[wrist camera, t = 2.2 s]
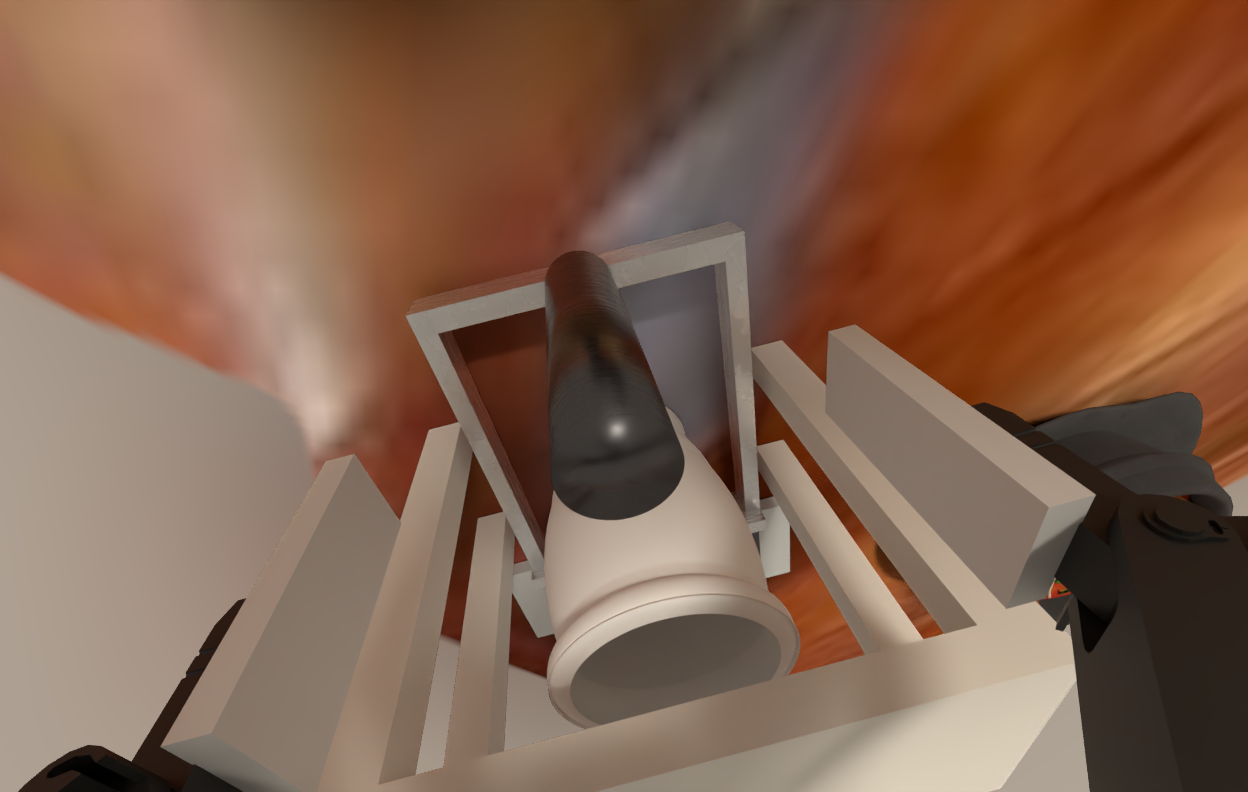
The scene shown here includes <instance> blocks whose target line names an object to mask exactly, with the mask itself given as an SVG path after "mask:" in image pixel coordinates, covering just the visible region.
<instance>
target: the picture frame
mask: <svg viewBox="0 0 1248 792" xmlns="http://www.w3.org/2000/svg"><path fill="white" fill-rule="evenodd" d="M713 264H714V267H715V277H716V288H717V299H718V309H719V320H720V330H721V341H722V351H723V362H724V373H725V383H726V394H727V404H728V415H729V426H730V436H731V447H732V457H733V468H734V479H735V489H736V492H732V493H731V494H732V496H733V498H734V499H735V501H736V503H737V504H738V506H739V508H740V510H741V512H742V513H743V515H744V517H745V519H746V522H747V524H748V526H749V528H750V531H751V533H754V532H758V531H762V530H766V519H765V517H764V515H763V513H762V511H761V509H760V499H759V481H758V463H757V444H756V426H755V408H754V390H753V372H752V354H751V336H750V318H749V299H748V281H747V263H746V245H745V231H744V230H743V229H741V228H740V227H738V226H737V225H735V224H734V223H732V222H731V221H728V222H724V223H720V224H716V225H712V226H708V227H704V228H700V229H696V230H692V231H688V232H684V233H680V234H676V235H672V236H668V237H664V238H660V239H656V240H652V241H648V242H644V243H640V244H636V245H632V246H628V247H624V248H620V249H616V250H612V251H608V252H604V253H600V254H596V255H595V254H593V253H590V252H586V251H572V252H568V253H566V254H563V255H561V256H560V257H558V258H557V259H556V260H555V261H554V262H553V263H552V264H551V266H548V267H544V268H540V269H536V270H532V271H528V272H524V273H520V274H516V275H512V276H508V277H504V278H500V279H496V280H492V281H488V282H484V283H480V284H476V285H472V286H468V287H464V288H460V289H456V290H452V291H448V292H444V293H440V294H436V295H432V296H428V297H423V298H419V299H415V300H414V302H413V304H412V305H411V307H410V309H409V311H408V312H407V314H406V318H407V320H408V322H409V324H410V326H411V328H412V330H413V332H414V334H415V336H416V338H417V340H418V342H419V344H420V346H421V348H422V350H423V352H424V354H425V356H426V358H427V360H428V362H429V364H430V366H431V368H432V370H433V372H434V374H435V376H436V378H437V380H438V382H439V384H440V386H441V388H442V390H443V392H444V394H445V396H446V398H447V400H448V402H449V404H450V406H451V408H452V410H453V412H454V414H455V416H456V418H457V420H458V422H459V424H460V426H461V428H462V430H463V432H464V434H465V436H466V438H467V440H468V442H469V444H470V446H471V448H472V450H473V452H474V454H475V456H476V458H477V460H478V462H479V464H480V466H481V468H482V470H483V472H484V474H485V476H486V478H487V480H488V482H489V484H490V486H491V488H492V490H493V492H494V494H495V496H496V498H497V500H498V502H499V504H500V506H501V508H502V510H503V512H504V514H505V516H506V518H507V519H508V521H509V523H510V525H511V527H512V529H513V531H514V533H515V535H516V537H517V539H518V541H519V543H520V545H521V547H522V549H523V551H524V553H525V555H526V557H527V559H528V561H529V563H530V565H531V567H532V582H533V584H534V586H535V588H536V589H540V588H543V587H546V586H545V572H544V551H545V538H544V536H543V534H542V531H541V529H540V527H539V525H538V523H537V520H536V518H535V516H534V514H533V512H532V509H531V507H530V505H529V503H528V500H527V498H526V496H525V494H524V492H523V489H522V487H521V485H520V483H519V480H518V478H517V476H516V474H515V472H514V469H513V467H512V465H511V463H510V460H509V458H508V456H507V454H506V452H505V449H504V447H503V445H502V443H501V441H500V438H499V436H498V434H497V432H496V429H495V427H494V425H493V423H492V421H491V418H490V416H489V414H488V412H487V409H486V407H485V405H484V403H483V401H482V398H481V396H480V394H479V392H478V389H477V387H476V385H475V383H474V381H473V378H472V376H471V374H470V372H469V370H468V367H467V365H466V363H465V361H464V358H463V356H462V354H461V352H460V350H459V347H458V345H457V343H456V341H455V338H454V336H453V334H452V332H451V330H454V329H458V328H462V327H466V326H470V325H474V324H478V323H482V322H486V321H490V320H494V319H498V318H502V317H506V316H510V315H514V314H518V313H522V312H526V311H530V310H534V309H538V308H542V307H545V314H546V343H547V372H548V400H549V429H550V457H551V479H552V485H553V488H554V491H555V493H556V495H557V496H558V498H559V499H560V501H561V502H562V503H563V504H564V505H565V506H567V507H568V508H569V509H571V510H572V511H574V512H576V513H577V514H580V515H582V516H585V517H588V518H592V519H598V520H622V519H627V518H632V517H635V516H638V515H641V514H644V513H646V512H648V511H650V510H652V509H654V508H655V507H657V506H658V505H660V504H661V503H663V502H664V501H665V500H666V499H667V498H668V497H669V496H670V495H671V494H672V493H673V492H674V490H675V489H676V488H677V486H678V484H679V483H680V481H681V478H682V476H683V472H684V466H685V460H684V453H683V450H682V447H681V445H680V442H679V440H678V437H677V435H676V432H675V430H674V427H673V425H672V422H671V420H670V417H669V415H668V412H667V410H666V407H665V405H664V402H663V400H662V397H661V395H660V392H659V390H658V387H657V385H656V382H655V380H654V377H653V375H652V372H651V370H650V367H649V365H648V362H647V360H646V357H645V355H644V352H643V350H642V348H641V345H640V343H639V340H638V338H637V335H636V333H635V330H634V328H633V325H632V323H631V320H630V318H629V315H628V313H627V310H626V308H625V305H624V303H623V300H622V298H621V295H620V293H619V290H618V288H622V287H626V286H630V285H634V284H638V283H642V282H646V281H650V280H654V279H658V278H662V277H666V276H670V275H674V274H678V273H682V272H686V271H690V270H694V269H698V268H702V267H706V266H709V265H713Z"/></svg>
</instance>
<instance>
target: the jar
mask: <svg viewBox="0 0 1248 792" xmlns="http://www.w3.org/2000/svg"><path fill="white" fill-rule="evenodd" d="M665 407H666V406H665ZM666 410H667V412H668V415H669V417H670V420H671V422H672V425H673V427H674V430H675V432H676V435H677V437H678V440H679V442H680V445H681V447H682V450H683V453H684V460H685V466H684V472H683V476H682V478H681V481H680V483H679V484H678V486H677V488H676V489H675V490H674V492H673V493H672V494H671V495H670V496H669V497H668V498H667V499H666V500H665V501H664V502H663V503H661V504H660V505H658V506H657V507H655V508H654V509H652V510H650V511H648V512H646V513H644V514H641V515H638V516H635V517H632V518H627V519H622V520H598V519H592V518H588V517H585V516H582V515H580V514H577V513H576V512H574V511H572V510H571V509H569V508H568V507H567V506H565V505H564V504H563V503H562V502H561V501H560V499H559V498H558V496H557V495H556V493H555V491H553V498H552V507H551V511H550V515H549V519H548V524H547V530H546V538H545V551H544V572H545V586H546V595H547V602H548V608H549V614H550V619H551V623H552V628H553V631H554V635H555V638H556V641H557V642H556V643H555V645H554V647H553V650H552V652H551V654H550V657H549V661H548V667H547V682H548V687H549V688H548V690H549V697H550V700H551V702H552V704H553V706H554V708H555V709H556V710H557V712H558V713H559V714H561V715H562V716H563V717H564V718H565V719H566V720H568V721H569V722H571V723H573V724H575V725H577V726H579V727H581V728H584V729H590V728H593V727H597V726H601V725H605V724H608V723H612V722H616V721H620V720H623V719H627V718H631V717H635V716H638V715H642V714H646V713H650V712H653V711H657V710H661V709H665V708H668V707H672V706H676V705H680V704H683V703H687V702H691V701H695V700H698V699H702V698H706V697H710V696H713V695H717V694H721V693H725V692H728V691H732V690H736V689H740V688H743V687H747V686H751V685H755V684H758V683H762V682H766V681H770V680H773V679H777V678H781V677H785V676H787V675H788V674H789V673H790V671H791V670H792V668H793V667H794V665H795V663H796V661H797V658H798V655H799V651H800V636H799V632H798V630H797V628H796V626H795V624H794V622H793V619H792V617H791V615H790V613H789V612H788V610H787V608H786V607H785V606H784V604H783V603H782V602H781V601H780V600H779V599H778V598H777V597H775V596H774V595H773V594H772V593H770V592H769V591H768V587H767V582H766V577H765V573H764V569H763V565H762V562H761V559H760V555H759V552H758V549H757V546H756V544H755V541H754V538H753V536H752V533H751V531H750V528H749V526H748V524H747V522H746V519H745V517H744V515H743V513H742V512H741V510H740V508H739V506H738V504H737V503H736V501H735V499H734V498H733V496H732V494H731V493H730V491H729V490H728V488H727V487H726V486H725V484H724V483H723V481H722V480H721V479H720V477H719V476H718V475H717V473H716V472H715V471H714V470H713V469H712V467H711V466H710V465H709V463H708V462H707V460H706V459H705V457H704V456H703V455H702V453H701V452H700V451H699V450H698V449H697V447H696V446H695V445H694V444H693V443H692V442H691V441H690V440H689V439H687V438H686V435H685V431H684V428H683V426H682V424H681V422H680V420H679V419H678V417H677V416H676V415H675V414H674V413H673V412H672V411H671V410H670V409H669V408H667V407H666Z"/></svg>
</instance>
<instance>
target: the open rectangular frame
mask: <svg viewBox="0 0 1248 792" xmlns="http://www.w3.org/2000/svg"><path fill="white" fill-rule="evenodd" d="M751 354H752V372H753V378H754V379H755V381H756V382H757V383H758V385H759V386H760V387H761V389H762V390H763V391H764V393H765V394H766V395H767V397H768V398H769V399H770V401H771V402H772V403H773V405H774V406H775V407H776V409H777V410H778V411H779V413H780V414H781V415H782V417H783V418H784V419H785V421H786V422H787V423H788V425H789V426H790V427H791V429H792V430H793V431H794V433H795V434H796V435H797V437H798V438H799V439H800V441H801V442H802V444H803V445H804V446H805V448H806V449H807V450H808V452H809V453H810V454H811V456H812V457H813V458H814V460H815V461H816V462H817V464H818V465H819V466H820V468H821V469H822V470H823V472H824V473H825V474H826V476H827V477H828V478H829V480H830V481H831V482H832V484H833V485H834V486H835V488H836V489H837V490H838V492H839V493H840V494H841V496H842V497H843V498H844V500H845V501H846V502H847V504H848V505H849V506H850V508H851V509H852V510H853V512H854V513H855V514H856V516H857V517H858V518H859V520H860V521H861V522H862V524H863V525H864V527H865V528H866V529H867V531H868V532H869V533H870V535H871V536H872V537H873V539H874V540H875V541H876V543H877V544H878V545H879V547H880V548H881V549H882V551H883V552H884V553H885V555H886V556H887V557H888V559H889V560H890V561H891V563H892V564H893V565H894V567H895V568H896V569H897V571H898V572H899V573H900V575H901V576H902V577H903V579H904V580H905V581H906V583H907V584H908V585H909V587H910V588H911V589H912V591H913V592H914V593H915V595H916V596H917V597H918V599H919V600H920V601H921V603H922V604H923V605H924V607H925V608H926V609H927V611H928V612H929V614H930V615H931V616H932V618H933V619H934V620H935V622H936V623H937V624H938V626H939V627H940V628H941V630H942V631H943V632H944V634H942V635H939V636H935V637H931V638H927V639H924V640H923V638H922V637H921V636H920V634H919V633H918V631H917V630H916V628H915V627H914V626H913V624H912V623H911V621H910V620H909V618H908V617H907V616H906V614H905V613H904V611H903V610H902V608H901V607H900V606H899V604H898V603H897V601H896V600H895V598H894V597H893V596H892V594H891V593H890V591H889V590H888V588H887V587H886V586H885V584H884V583H883V581H882V580H881V578H880V577H879V576H878V574H877V573H876V571H875V570H874V568H873V567H872V566H871V564H870V563H869V561H868V560H867V559H866V557H865V556H864V554H863V553H862V551H861V550H860V549H859V547H858V546H857V544H856V543H855V541H854V540H853V539H852V537H851V536H850V534H849V533H848V531H847V530H846V529H845V527H844V526H843V524H842V523H841V521H840V520H839V519H838V517H837V516H836V514H835V513H834V511H833V510H832V509H831V507H830V506H829V504H828V503H827V501H826V500H825V499H824V497H823V496H822V494H821V493H820V491H819V490H818V489H817V487H816V486H815V484H814V483H813V481H812V480H811V479H810V477H809V476H808V474H807V473H806V471H805V470H804V469H803V467H802V466H801V464H800V463H799V461H798V460H797V459H796V457H795V456H794V454H793V453H792V451H791V450H790V449H789V447H788V446H787V444H786V443H785V441H784V440H779V441H775V442H772V443H768V444H764V445H760V446H757V463H758V470H759V472H760V474H761V475H762V477H763V479H764V480H765V482H766V484H767V486H768V487H769V489H770V491H771V493H772V494H773V496H774V497H770V498H766V499H762V500H760V509H761V511H762V513H763V515H764V517H765V519H766V530H762V531H758V532H754V533H752V536H753V538H754V541H755V544H756V546H757V549H758V552H759V555H760V559H761V562H762V565H763V569H764V573H765V577H766V578H768V577H771V576H775V575H779V574H783V573H787V572H790V525H791V527H792V529H793V530H794V532H795V534H796V536H797V537H798V539H799V541H800V543H801V544H802V546H803V548H804V549H805V551H806V553H807V555H808V556H809V558H810V560H811V562H812V563H813V565H814V567H815V568H816V570H817V572H818V574H819V575H820V577H821V579H822V581H823V582H824V584H825V586H826V587H827V589H828V591H829V593H830V594H831V596H832V598H833V600H834V601H835V603H836V605H837V606H838V608H839V610H840V612H841V613H842V615H843V617H844V618H845V620H846V622H847V624H848V625H849V627H850V629H851V631H852V632H853V634H854V636H855V637H856V639H857V641H858V643H859V644H860V646H861V648H862V650H863V651H864V653H865V655H864V656H860V657H856V658H852V659H849V660H845V661H841V662H837V663H834V664H830V665H826V666H822V667H819V668H815V669H811V670H807V671H803V672H800V673H796V674H792V675H788V676H785V677H781V678H777V679H773V680H770V681H766V682H762V683H758V684H755V685H751V686H747V687H743V688H740V689H736V690H732V691H728V692H725V693H721V694H717V695H713V696H710V697H706V698H702V699H698V700H695V701H691V702H687V703H683V704H680V705H676V706H672V707H668V708H665V709H661V710H657V711H653V712H650V713H646V714H642V715H638V716H635V717H631V718H627V719H623V720H620V721H616V722H612V723H608V724H605V725H601V726H597V727H593V728H590V729H586V730H582V731H579V732H575V733H571V734H567V735H563V736H560V737H556V738H552V739H549V740H545V741H541V742H537V743H533V744H530V745H526V746H522V747H518V748H514V749H511V750H507V751H504V741H505V722H506V702H507V701H506V700H507V682H508V663H509V643H510V623H511V604H512V593H513V595H514V597H515V598H516V600H517V602H518V604H519V606H520V607H521V609H522V611H523V613H524V614H525V616H526V618H527V620H528V621H529V623H530V625H531V627H532V628H533V630H534V632H535V634H536V636H537V637H538V638H539V637H543V636H547V635H551V634H554V631H553V628H552V623H551V619H550V614H549V608H548V602H547V595H546V587H543V588H540V589H536V588H535V586H534V584H533V582H532V567H531V565H530V563H529V561H528V560H527V561H523V562H520V563H516V564H514V545H515V533H514V531H513V529H512V527H511V525H510V523H509V521H508V519H507V518H506V516H505V514H504V512H500V513H496V514H492V515H488V516H485V517H481V518H478V521H477V528H476V536H475V543H474V550H473V557H472V564H471V572H470V579H469V586H468V593H467V600H466V608H465V615H464V622H463V629H462V636H461V643H460V651H459V658H458V665H457V672H456V680H455V687H454V694H453V701H452V708H451V715H450V723H449V730H448V738H447V744H446V751H445V758H444V766H443V768H439V769H436V770H432V771H428V772H424V773H421V774H417V775H415V774H416V768H417V762H418V756H419V751H420V746H421V740H422V734H423V729H424V723H425V717H426V712H427V706H428V701H429V695H430V689H431V684H432V678H433V673H434V667H435V661H436V656H437V650H438V645H439V639H440V633H441V628H442V622H443V617H444V611H445V605H446V600H447V594H448V589H449V583H450V577H451V572H452V566H453V561H454V555H455V549H456V544H457V538H458V533H459V527H460V521H461V516H462V510H463V504H464V499H465V493H466V488H467V482H468V476H469V471H470V465H471V460H472V454H473V450H472V448H471V446H470V444H469V442H468V440H467V438H466V436H465V434H464V432H463V430H462V428H461V426H460V424H459V422H457V423H454V424H450V425H446V426H442V427H438V428H434V429H430V430H429V432H428V435H427V438H426V441H425V444H424V447H423V450H422V453H421V457H420V460H419V463H418V466H417V469H416V472H415V475H414V479H413V482H412V485H411V488H410V491H409V494H408V497H407V501H406V504H405V507H404V510H403V513H402V516H401V519H400V522H401V526H400V529H399V532H398V536H397V539H396V542H395V545H394V548H393V551H392V555H391V558H390V561H389V564H388V567H387V570H386V573H385V577H384V580H383V583H382V586H381V589H380V592H379V595H378V599H377V602H376V605H375V608H374V611H373V614H372V617H371V621H370V624H369V627H368V630H367V633H366V636H365V640H364V643H363V646H362V649H361V652H360V655H359V658H358V662H357V665H356V668H355V671H354V674H353V677H352V680H351V684H350V687H349V690H348V693H347V696H346V699H345V703H344V706H343V709H342V712H341V715H340V718H339V721H338V725H337V728H336V731H335V734H334V737H333V740H332V743H331V747H330V750H329V753H328V756H327V759H326V762H325V765H324V769H323V772H322V775H321V778H320V781H319V784H318V788H317V791H316V792H990V791H993V790H997V789H1001V787H1002V786H1003V784H1004V783H1005V781H1006V780H1007V779H1008V777H1009V776H1010V774H1011V773H1012V772H1013V770H1014V769H1015V767H1016V766H1017V764H1018V763H1019V761H1020V760H1021V759H1022V757H1023V756H1024V754H1025V753H1026V751H1027V750H1028V749H1029V747H1030V746H1031V744H1032V743H1033V741H1034V740H1035V739H1036V737H1037V736H1038V734H1039V733H1040V732H1041V730H1042V729H1043V727H1044V726H1045V724H1046V723H1047V722H1048V720H1049V719H1050V717H1051V716H1052V714H1053V713H1054V711H1055V710H1056V708H1057V707H1058V706H1059V704H1060V703H1061V701H1062V700H1063V698H1064V697H1065V696H1066V694H1067V693H1068V691H1069V690H1070V689H1071V687H1072V686H1073V684H1074V683H1075V681H1076V680H1077V679H1076V671H1075V662H1074V654H1073V646H1072V638H1071V637H1070V636H1069V635H1068V634H1067V633H1066V632H1065V631H1063V632H1062V631H1059V630H1055V628H1056V624H1057V622H1056V621H1055V620H1054V619H1053V618H1052V617H1051V616H1050V615H1049V614H1048V613H1047V612H1046V611H1045V610H1044V609H1043V608H1042V607H1041V606H1040V605H1039V604H1038V603H1037V602H1036V601H1034V602H1030V603H1027V604H1023V605H1019V606H1016V607H1012V608H1008V609H1006V608H1005V607H1004V606H1003V605H1002V604H1001V603H1000V602H999V601H998V599H997V598H996V597H995V596H994V595H993V594H992V593H991V592H990V591H989V590H988V589H987V588H986V586H985V585H984V584H983V583H982V582H981V581H980V580H979V579H978V578H977V577H976V576H975V574H974V573H973V572H972V571H971V570H970V569H969V568H968V567H967V566H966V565H965V564H964V563H963V561H962V560H961V559H960V558H959V557H958V556H957V555H956V554H955V553H954V552H953V551H952V550H951V548H950V547H949V546H948V545H947V544H946V543H945V542H944V541H943V540H942V539H941V538H940V536H939V535H938V534H937V533H936V532H935V531H934V530H933V529H932V528H931V527H930V526H929V525H928V523H927V522H926V521H925V520H924V519H923V518H922V517H921V516H920V515H919V514H918V513H917V512H916V510H915V509H914V508H913V507H912V506H911V505H910V504H909V503H908V502H907V501H906V500H905V498H904V497H903V496H902V495H901V494H900V493H899V492H898V491H897V490H896V489H895V488H894V487H893V485H892V484H891V483H890V482H889V481H888V480H887V479H886V478H885V477H884V476H883V475H882V474H881V472H880V471H879V470H878V469H877V468H876V467H875V466H874V465H873V464H872V463H871V462H870V460H869V459H868V458H867V457H866V456H865V455H864V454H863V453H862V452H861V451H860V450H859V449H858V447H857V446H856V445H855V444H854V443H853V442H852V441H851V440H850V439H849V438H848V437H847V436H846V434H845V433H844V432H843V431H842V430H841V429H840V428H839V427H838V426H837V425H836V424H835V422H834V421H833V420H832V419H831V418H830V417H829V416H828V415H827V414H826V413H825V403H826V385H825V384H824V383H823V382H822V381H821V380H820V379H819V378H818V377H817V376H816V375H815V374H814V373H813V372H812V371H811V370H810V369H809V367H808V366H807V365H806V364H805V363H804V362H803V361H802V360H801V359H800V358H799V357H798V356H797V355H796V354H795V353H794V352H793V351H792V350H791V349H790V348H789V347H788V346H787V345H786V344H785V343H784V342H783V341H782V340H780V341H776V342H772V343H768V344H764V345H760V346H756V347H753V348H751Z"/></svg>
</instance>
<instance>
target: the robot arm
mask: <svg viewBox="0 0 1248 792" xmlns="http://www.w3.org/2000/svg"><path fill="white" fill-rule="evenodd" d="M825 413H826V414H827V415H828V416H829V417H830V418H831V419H832V420H833V421H834V422H835V424H836V425H837V426H838V427H839V428H840V429H841V430H842V431H843V432H844V433H845V434H846V436H847V437H848V438H849V439H850V440H851V441H852V442H853V443H854V444H855V445H856V446H857V447H858V449H859V450H860V451H861V452H862V453H863V454H864V455H865V456H866V457H867V458H868V459H869V460H870V462H871V463H872V464H873V465H874V466H875V467H876V468H877V469H878V470H879V471H880V472H881V474H882V475H883V476H884V477H885V478H886V479H887V480H888V481H889V482H890V483H891V484H892V485H893V487H894V488H895V489H896V490H897V491H898V492H899V493H900V494H901V495H902V496H903V497H904V498H905V500H906V501H907V502H908V503H909V504H910V505H911V506H912V507H913V508H914V509H915V510H916V512H917V513H918V514H919V515H920V516H921V517H922V518H923V519H924V520H925V521H926V522H927V523H928V525H929V526H930V527H931V528H932V529H933V530H934V531H935V532H936V533H937V534H938V535H939V536H940V538H941V539H942V540H943V541H944V542H945V543H946V544H947V545H948V546H949V547H950V548H951V550H952V551H953V552H954V553H955V554H956V555H957V556H958V557H959V558H960V559H961V560H962V561H963V563H964V564H965V565H966V566H967V567H968V568H969V569H970V570H971V571H972V572H973V573H974V574H975V576H976V577H977V578H978V579H979V580H980V581H981V582H982V583H983V584H984V585H985V586H986V588H987V589H988V590H989V591H990V592H991V593H992V594H993V595H994V596H995V597H996V598H997V599H998V601H999V602H1000V603H1001V604H1002V605H1003V606H1004V607H1005V608H1006V609H1008V608H1012V607H1016V606H1019V605H1023V604H1027V603H1030V602H1034V601H1038V600H1041V599H1045V598H1046V596H1047V594H1048V592H1049V590H1050V588H1051V586H1052V584H1053V582H1054V580H1055V578H1056V579H1057V580H1058V581H1059V582H1060V583H1061V584H1062V585H1063V586H1065V587H1066V588H1067V589H1068V590H1069V591H1070V592H1071V595H1070V597H1069V599H1068V601H1067V602H1066V604H1065V606H1064V608H1063V610H1062V612H1061V614H1060V616H1059V617H1058V619H1057V624H1056V628H1055V630H1059V631H1062V632H1063V631H1064V629H1065V628H1066V626H1067V624H1068V622H1069V620H1070V628H1071V636H1072V646H1073V654H1074V662H1075V671H1076V679H1077V687H1078V696H1079V704H1080V712H1081V720H1082V729H1083V737H1084V746H1085V754H1086V763H1087V771H1088V779H1089V788H1090V792H1248V516H1217V515H1216V514H1215V513H1213V512H1211V511H1209V510H1207V509H1205V508H1203V507H1200V506H1198V505H1196V504H1194V503H1191V502H1189V501H1185V500H1181V499H1178V498H1174V497H1170V496H1166V495H1155V494H1140V495H1138V494H1136V493H1134V492H1132V491H1131V490H1129V489H1128V488H1126V487H1125V486H1123V485H1122V484H1120V483H1119V482H1117V481H1115V480H1114V479H1112V478H1111V477H1109V476H1108V475H1106V474H1105V473H1103V472H1102V471H1100V470H1099V469H1097V468H1096V467H1094V466H1093V465H1091V464H1090V463H1088V462H1087V461H1085V460H1084V459H1082V458H1081V457H1079V456H1078V455H1076V454H1075V453H1073V452H1071V451H1070V450H1068V449H1067V448H1065V447H1064V446H1062V445H1061V444H1056V443H1055V442H1054V441H1055V440H1053V439H1052V438H1050V437H1049V436H1047V435H1046V434H1044V433H1043V432H1041V431H1036V428H1035V427H1034V426H1032V425H1031V424H1029V423H1028V422H1026V421H1024V420H1023V419H1021V418H1020V417H1018V416H1017V415H1015V414H1014V413H1012V412H1009V411H1006V410H1004V409H1001V408H998V407H996V406H993V405H990V404H988V403H985V402H984V403H980V404H976V405H972V406H970V405H968V404H967V403H966V402H964V401H963V400H961V399H960V398H959V397H957V396H956V395H954V394H953V393H951V392H950V391H949V390H947V389H946V388H944V387H943V386H942V385H940V384H939V383H937V382H936V381H935V380H933V379H932V378H930V377H929V376H927V375H926V374H925V373H923V372H922V371H920V370H919V369H918V368H916V367H915V366H913V365H912V364H911V363H909V362H908V361H906V360H905V359H903V358H902V357H901V356H899V355H898V354H896V353H895V352H894V351H892V350H891V349H889V348H888V347H886V346H885V345H884V344H882V343H881V342H879V341H878V340H877V339H875V338H874V337H872V336H871V335H870V334H868V333H867V332H865V331H864V330H862V329H861V328H860V327H858V326H857V325H851V326H848V327H844V328H840V329H836V330H832V331H828V353H827V378H826V403H825ZM400 526H401V522H400V520H399V519H398V517H397V516H396V515H395V513H394V512H393V510H392V509H391V507H390V506H389V504H388V503H387V501H386V500H385V498H384V497H383V495H382V494H381V492H380V491H379V489H378V488H377V486H376V485H375V484H374V482H373V481H372V479H371V478H370V476H369V475H368V473H367V472H366V470H365V469H364V467H363V466H362V464H361V463H360V461H359V460H358V458H357V457H356V455H355V454H352V455H348V456H344V457H340V458H336V459H332V460H328V461H326V462H325V464H324V465H323V467H322V469H321V471H320V472H319V474H318V476H317V478H316V479H315V481H314V483H313V484H312V486H311V488H310V490H309V491H308V493H307V495H306V497H305V498H304V500H303V502H302V503H301V505H300V507H299V509H298V510H297V512H296V514H295V515H294V517H293V519H292V521H291V522H290V524H289V526H288V528H287V529H286V531H285V533H284V534H283V536H282V538H281V540H280V541H279V543H278V545H277V547H276V549H275V550H274V552H273V554H272V555H271V557H270V559H269V560H268V562H267V564H266V565H265V567H264V569H263V571H262V572H261V574H260V576H259V578H258V579H257V581H256V583H255V584H254V586H253V588H252V590H251V591H250V593H249V595H248V596H247V598H245V599H242V600H238V601H237V602H236V603H235V604H234V605H233V606H232V607H231V609H230V610H229V611H228V612H227V613H226V614H225V615H224V616H223V617H222V618H221V619H220V620H219V621H218V622H217V624H216V625H215V626H214V628H213V629H212V631H211V632H210V634H209V636H208V637H207V639H206V641H205V642H204V644H203V645H202V647H201V649H200V650H199V652H200V654H199V656H196V657H195V659H194V660H193V662H192V664H191V665H190V667H189V668H188V670H187V672H186V678H184V679H182V680H181V682H180V683H179V685H178V687H177V688H176V690H175V691H174V693H173V695H172V696H171V698H170V700H169V701H168V703H167V704H166V706H165V708H164V709H163V711H162V713H161V714H160V716H159V718H158V719H157V721H156V722H155V724H154V726H153V728H152V729H151V731H150V732H149V734H148V736H147V737H146V739H145V740H144V742H143V744H142V746H141V747H140V749H139V750H138V752H137V754H136V755H135V757H134V758H133V760H132V762H131V761H129V760H127V759H125V758H123V757H121V756H119V755H117V754H115V753H113V752H111V751H109V750H108V749H106V748H104V747H102V746H93V745H87V746H84V747H81V748H79V749H76V750H73V751H71V752H69V753H67V754H65V755H64V756H62V757H61V758H59V759H57V760H56V761H54V762H53V763H51V764H49V765H48V766H47V767H46V768H44V769H43V770H42V771H41V772H39V773H38V774H37V775H36V776H35V777H33V778H32V779H31V780H30V781H29V782H28V783H26V784H25V785H24V786H23V787H22V788H21V789H20V790H19V792H316V791H317V788H318V784H319V781H320V778H321V775H322V772H323V769H324V765H325V762H326V759H327V756H328V753H329V750H330V747H331V743H332V740H333V737H334V734H335V731H336V728H337V725H338V721H339V718H340V715H341V712H342V709H343V706H344V703H345V699H346V696H347V693H348V690H349V687H350V684H351V680H352V677H353V674H354V671H355V668H356V665H357V662H358V658H359V655H360V652H361V649H362V646H363V643H364V640H365V636H366V633H367V630H368V627H369V624H370V621H371V617H372V614H373V611H374V608H375V605H376V602H377V599H378V595H379V592H380V589H381V586H382V583H383V580H384V577H385V573H386V570H387V567H388V564H389V561H390V558H391V555H392V551H393V548H394V545H395V542H396V539H397V536H398V532H399V529H400Z"/></svg>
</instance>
